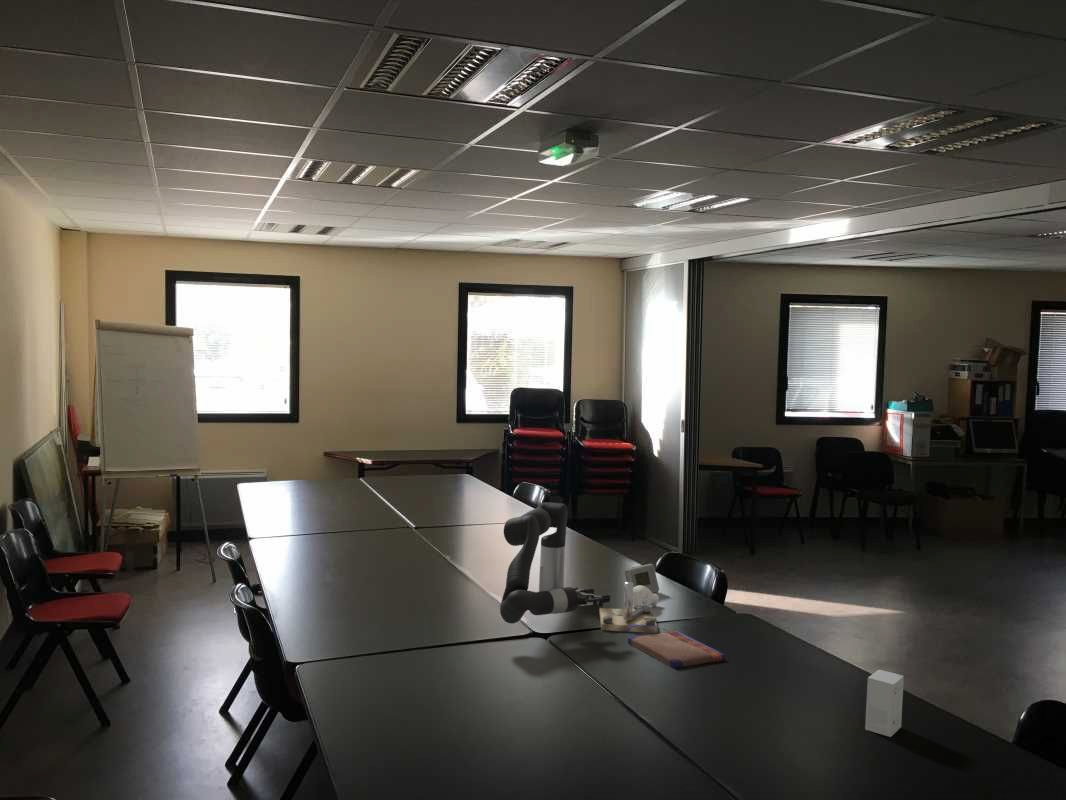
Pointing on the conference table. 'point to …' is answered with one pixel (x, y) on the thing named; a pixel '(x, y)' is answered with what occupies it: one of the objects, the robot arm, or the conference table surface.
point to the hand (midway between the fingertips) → (601, 594)
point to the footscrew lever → (628, 603)
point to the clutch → (675, 648)
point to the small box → (884, 702)
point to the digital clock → (643, 577)
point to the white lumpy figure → (644, 596)
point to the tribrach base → (626, 621)
